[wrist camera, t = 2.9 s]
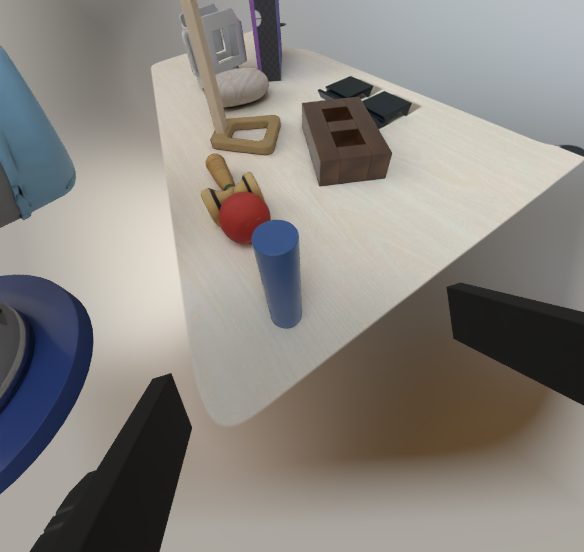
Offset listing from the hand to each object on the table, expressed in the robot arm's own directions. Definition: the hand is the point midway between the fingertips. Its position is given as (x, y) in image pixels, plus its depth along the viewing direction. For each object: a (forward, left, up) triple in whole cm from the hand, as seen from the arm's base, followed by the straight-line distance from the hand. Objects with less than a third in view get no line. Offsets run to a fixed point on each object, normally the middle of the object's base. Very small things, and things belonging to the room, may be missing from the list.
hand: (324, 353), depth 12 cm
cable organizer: (-9, +68, -13) cm, 70 cm away
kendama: (-7, +26, -13) cm, 30 cm away
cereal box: (+2, +75, -13) cm, 76 cm away
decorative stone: (-6, +58, -13) cm, 59 cm away
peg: (-2, +9, -13) cm, 16 cm away
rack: (+10, +37, -13) cm, 40 cm away
